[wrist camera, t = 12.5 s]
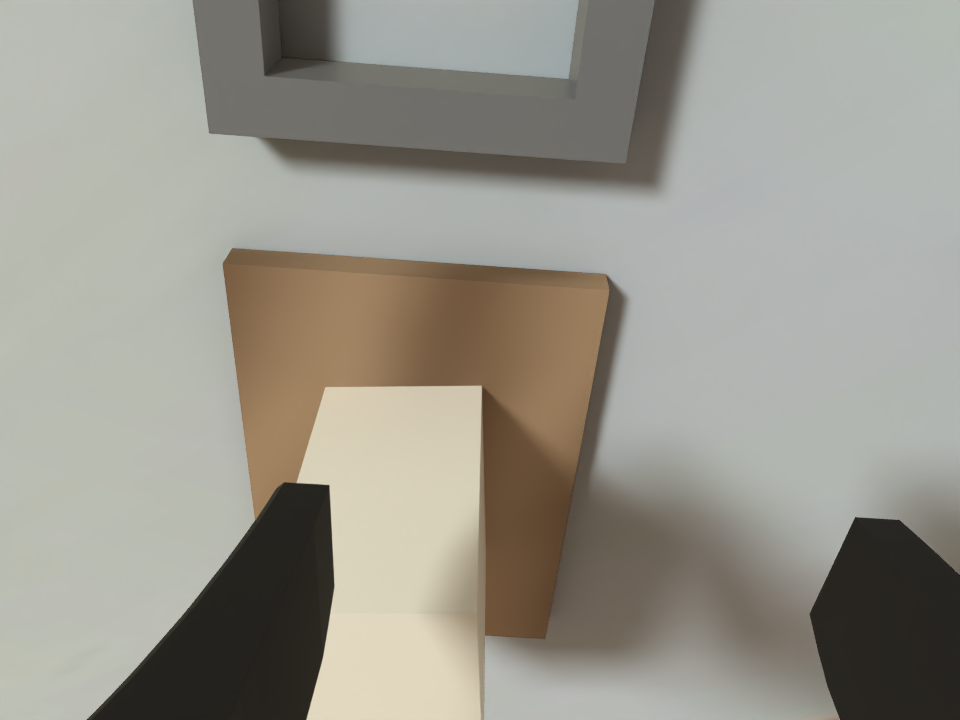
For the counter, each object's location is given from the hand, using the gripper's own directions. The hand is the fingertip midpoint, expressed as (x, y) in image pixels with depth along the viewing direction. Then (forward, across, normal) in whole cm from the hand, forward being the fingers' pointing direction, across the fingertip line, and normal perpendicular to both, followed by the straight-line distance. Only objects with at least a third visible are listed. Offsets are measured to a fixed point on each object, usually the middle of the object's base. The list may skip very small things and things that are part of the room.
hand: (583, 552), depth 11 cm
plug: (+9, +3, +7) cm, 11 cm away
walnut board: (+9, +3, +7) cm, 12 cm away
